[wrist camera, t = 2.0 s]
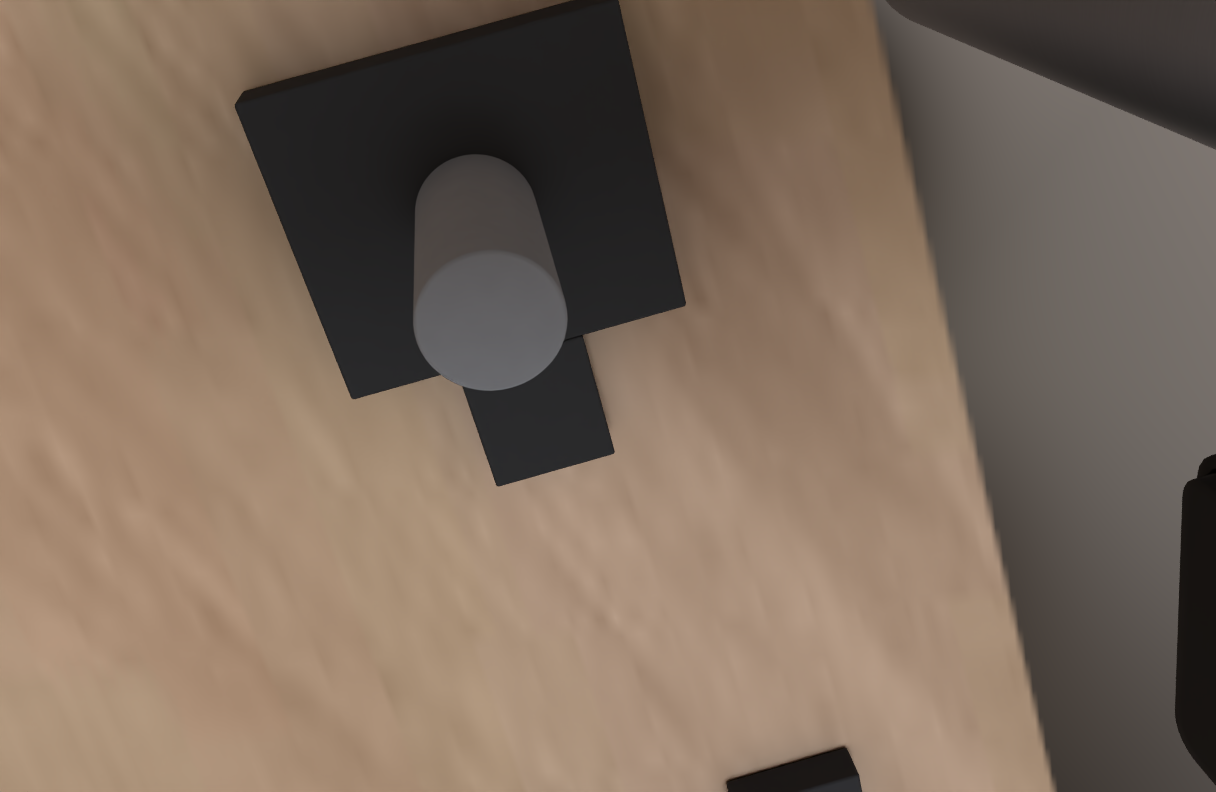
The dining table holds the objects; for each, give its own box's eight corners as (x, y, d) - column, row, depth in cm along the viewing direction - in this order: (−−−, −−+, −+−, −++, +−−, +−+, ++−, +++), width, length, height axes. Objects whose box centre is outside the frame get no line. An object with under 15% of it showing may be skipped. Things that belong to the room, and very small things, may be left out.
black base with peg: (609, -10, 24) (677, 53, 17) (702, 403, 29) (783, 571, 22) (241, 91, 24) (175, 193, 17) (398, 489, 28) (392, 683, 22)
